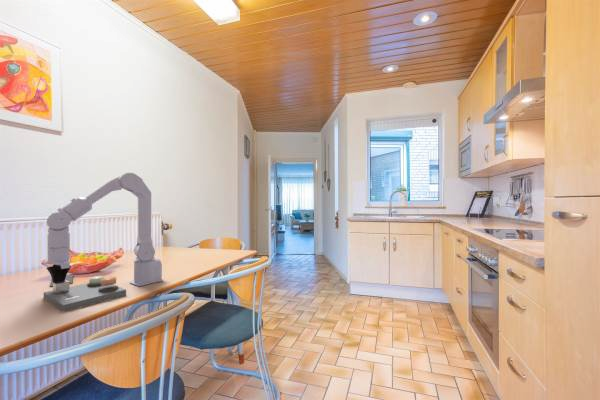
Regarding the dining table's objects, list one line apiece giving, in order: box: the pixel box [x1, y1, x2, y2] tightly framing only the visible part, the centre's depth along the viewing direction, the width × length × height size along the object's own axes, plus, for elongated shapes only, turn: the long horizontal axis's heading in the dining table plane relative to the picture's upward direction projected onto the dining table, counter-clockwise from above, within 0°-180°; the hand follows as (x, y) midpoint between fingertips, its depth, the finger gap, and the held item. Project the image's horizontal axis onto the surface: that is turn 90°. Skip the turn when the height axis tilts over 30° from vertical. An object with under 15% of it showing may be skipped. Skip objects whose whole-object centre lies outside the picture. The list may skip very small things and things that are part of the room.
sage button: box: [88, 275, 105, 284], centre depth 100 cm, size 4×4×2 cm
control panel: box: [43, 282, 127, 313], centre depth 93 cm, size 17×20×3 cm
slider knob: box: [52, 280, 71, 293], centre depth 92 cm, size 4×3×3 cm
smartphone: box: [49, 274, 74, 288], centre depth 111 cm, size 7×1×15 cm
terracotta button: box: [101, 276, 117, 286], centre depth 94 cm, size 4×4×2 cm
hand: (58, 286), depth 93 cm, fingers closed
